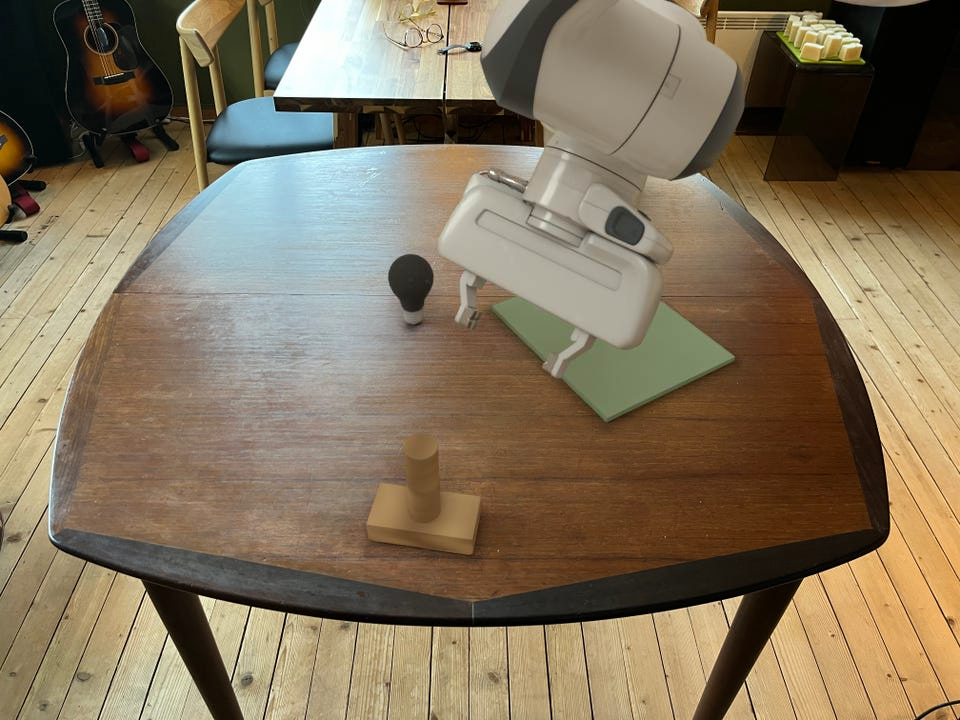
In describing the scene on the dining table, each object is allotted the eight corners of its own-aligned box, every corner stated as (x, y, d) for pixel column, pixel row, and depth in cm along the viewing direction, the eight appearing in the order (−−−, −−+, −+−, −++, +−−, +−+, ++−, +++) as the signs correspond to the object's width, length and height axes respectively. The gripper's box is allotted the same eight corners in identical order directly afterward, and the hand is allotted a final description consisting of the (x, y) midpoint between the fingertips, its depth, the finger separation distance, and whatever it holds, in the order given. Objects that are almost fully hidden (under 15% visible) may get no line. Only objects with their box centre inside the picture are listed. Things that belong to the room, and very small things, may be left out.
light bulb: (387, 333, 93) (381, 268, 87) (397, 307, 97) (392, 242, 91) (430, 338, 93) (427, 273, 86) (439, 311, 97) (437, 247, 90)
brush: (481, 515, 72) (482, 431, 64) (472, 558, 69) (472, 475, 61) (382, 501, 74) (372, 418, 66) (368, 543, 70) (356, 460, 62)
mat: (733, 361, 90) (735, 356, 89) (606, 422, 82) (607, 417, 81) (609, 266, 105) (609, 261, 105) (491, 310, 97) (491, 305, 97)
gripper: (463, 149, 63) (398, 295, 66) (676, 242, 55) (593, 405, 57) (494, 169, 69) (433, 302, 71) (692, 256, 60) (616, 404, 63)
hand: (506, 349), depth 64 cm, fingers open, 8 cm apart
